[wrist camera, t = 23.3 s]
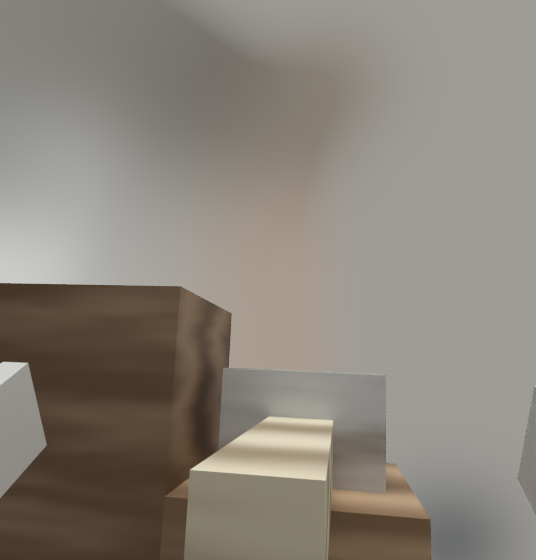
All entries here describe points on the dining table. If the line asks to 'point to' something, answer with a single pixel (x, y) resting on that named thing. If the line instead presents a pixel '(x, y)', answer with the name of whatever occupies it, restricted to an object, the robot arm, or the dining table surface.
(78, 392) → the stand
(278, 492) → the hammer
